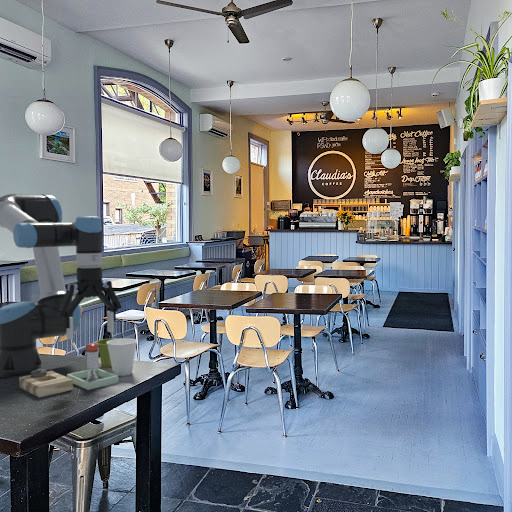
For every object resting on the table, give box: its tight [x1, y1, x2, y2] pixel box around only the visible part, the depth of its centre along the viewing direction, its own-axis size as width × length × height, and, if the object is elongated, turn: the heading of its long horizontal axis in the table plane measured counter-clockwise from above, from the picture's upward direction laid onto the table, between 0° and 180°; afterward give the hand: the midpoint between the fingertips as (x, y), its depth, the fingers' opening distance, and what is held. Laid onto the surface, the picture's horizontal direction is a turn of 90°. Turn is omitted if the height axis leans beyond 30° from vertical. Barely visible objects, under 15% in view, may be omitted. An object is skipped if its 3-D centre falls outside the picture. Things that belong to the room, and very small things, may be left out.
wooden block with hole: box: [18, 369, 74, 398], centre depth 162 cm, size 14×10×6 cm
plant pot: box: [95, 337, 118, 368], centre depth 191 cm, size 9×9×9 cm
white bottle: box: [85, 342, 100, 382], centre depth 168 cm, size 4×4×12 cm
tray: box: [66, 368, 119, 391], centre depth 168 cm, size 13×10×3 cm
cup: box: [106, 337, 138, 377], centre depth 180 cm, size 10×10×11 cm
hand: (90, 335), depth 168 cm, fingers open, 13 cm apart
